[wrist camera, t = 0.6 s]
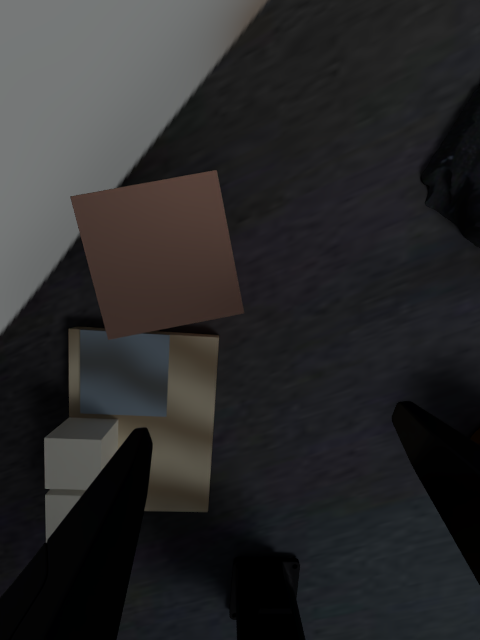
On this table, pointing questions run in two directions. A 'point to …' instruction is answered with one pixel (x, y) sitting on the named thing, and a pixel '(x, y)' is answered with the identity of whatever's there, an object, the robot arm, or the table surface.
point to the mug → (476, 437)
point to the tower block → (159, 254)
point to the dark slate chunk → (458, 173)
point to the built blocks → (75, 462)
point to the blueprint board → (153, 403)
